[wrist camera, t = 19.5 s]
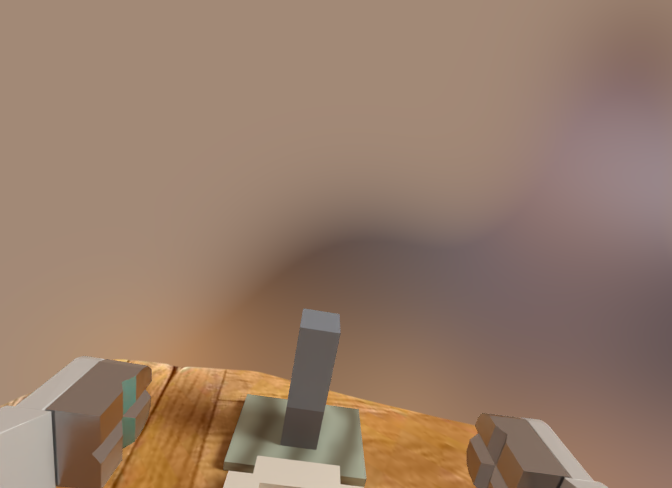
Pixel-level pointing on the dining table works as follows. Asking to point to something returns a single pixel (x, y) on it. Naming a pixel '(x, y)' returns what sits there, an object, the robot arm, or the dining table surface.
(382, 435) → the dining table surface
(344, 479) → the sage board
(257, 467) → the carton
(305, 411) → the slate box
